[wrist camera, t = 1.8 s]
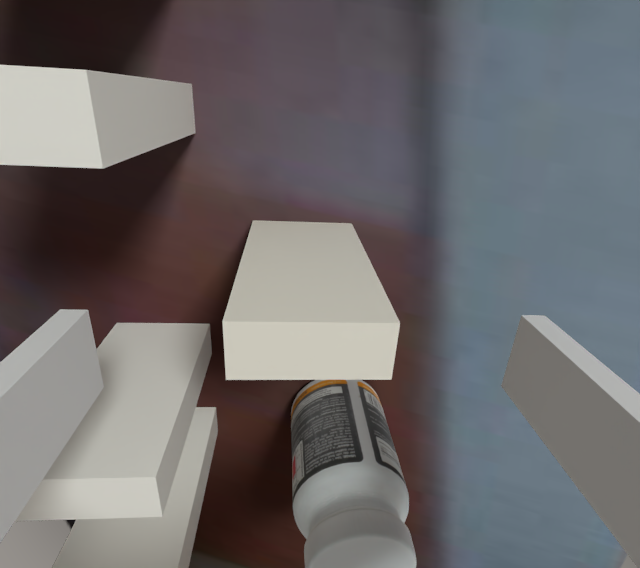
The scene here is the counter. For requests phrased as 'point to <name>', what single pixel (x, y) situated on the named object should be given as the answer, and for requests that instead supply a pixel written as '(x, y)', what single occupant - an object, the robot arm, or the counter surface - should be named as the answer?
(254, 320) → the domino
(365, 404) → the pill bottle
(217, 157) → the counter surface
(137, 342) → the domino
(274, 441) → the counter surface
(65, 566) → the domino
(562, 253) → the counter surface
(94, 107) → the domino
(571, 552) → the counter surface
